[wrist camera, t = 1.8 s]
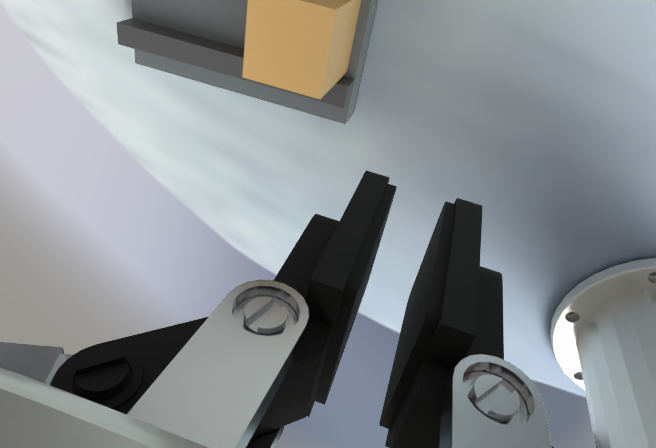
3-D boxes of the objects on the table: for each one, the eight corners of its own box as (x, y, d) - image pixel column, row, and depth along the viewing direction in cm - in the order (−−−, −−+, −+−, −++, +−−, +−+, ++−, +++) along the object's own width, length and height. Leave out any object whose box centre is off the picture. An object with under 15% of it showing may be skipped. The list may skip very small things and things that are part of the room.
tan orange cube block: (362, -6, 24) (335, 9, 20) (347, 72, 26) (320, 99, 22) (289, -24, 25) (248, -13, 21) (280, 53, 27) (242, 77, 23)
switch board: (393, -73, 24) (380, -72, 21) (353, 112, 30) (338, 132, 27) (147, -129, 26) (104, -134, 23) (153, 55, 32) (120, 69, 29)
